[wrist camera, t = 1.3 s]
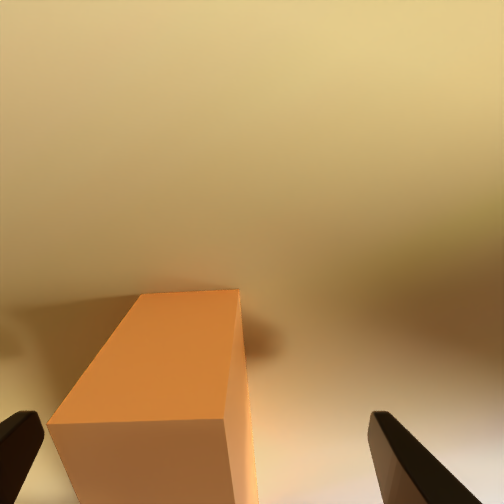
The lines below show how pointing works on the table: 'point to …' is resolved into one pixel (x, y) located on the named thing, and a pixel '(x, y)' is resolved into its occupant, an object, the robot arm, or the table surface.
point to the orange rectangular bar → (163, 408)
